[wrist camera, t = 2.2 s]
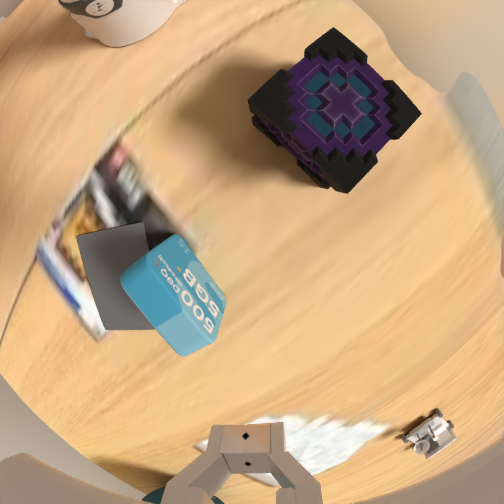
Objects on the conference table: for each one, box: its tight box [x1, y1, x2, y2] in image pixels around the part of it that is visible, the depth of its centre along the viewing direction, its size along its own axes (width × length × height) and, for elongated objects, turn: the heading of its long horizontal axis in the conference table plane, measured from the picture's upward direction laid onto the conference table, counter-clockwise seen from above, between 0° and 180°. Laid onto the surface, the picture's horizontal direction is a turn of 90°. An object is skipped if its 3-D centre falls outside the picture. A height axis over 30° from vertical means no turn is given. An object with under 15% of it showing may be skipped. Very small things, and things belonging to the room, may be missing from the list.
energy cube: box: [248, 27, 422, 194], centre depth 26 cm, size 12×12×12 cm
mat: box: [77, 222, 155, 330], centre depth 39 cm, size 17×13×1 cm
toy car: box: [401, 408, 457, 460], centre depth 44 cm, size 18×10×12 cm
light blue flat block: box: [120, 234, 226, 356], centre depth 32 cm, size 12×4×12 cm, turn 34°
